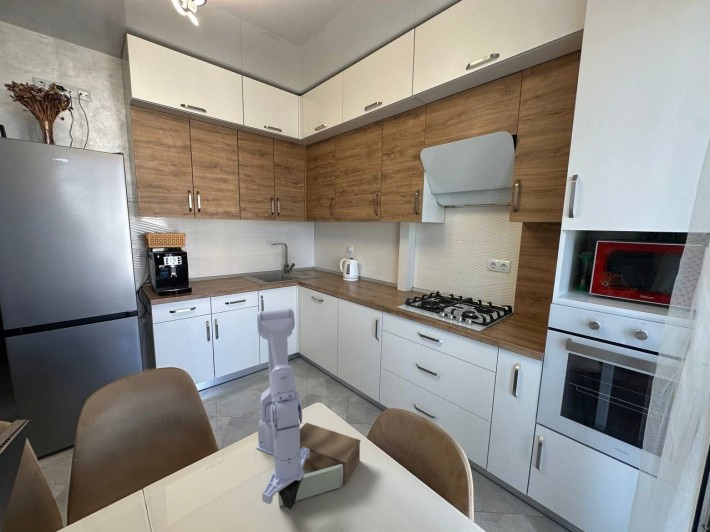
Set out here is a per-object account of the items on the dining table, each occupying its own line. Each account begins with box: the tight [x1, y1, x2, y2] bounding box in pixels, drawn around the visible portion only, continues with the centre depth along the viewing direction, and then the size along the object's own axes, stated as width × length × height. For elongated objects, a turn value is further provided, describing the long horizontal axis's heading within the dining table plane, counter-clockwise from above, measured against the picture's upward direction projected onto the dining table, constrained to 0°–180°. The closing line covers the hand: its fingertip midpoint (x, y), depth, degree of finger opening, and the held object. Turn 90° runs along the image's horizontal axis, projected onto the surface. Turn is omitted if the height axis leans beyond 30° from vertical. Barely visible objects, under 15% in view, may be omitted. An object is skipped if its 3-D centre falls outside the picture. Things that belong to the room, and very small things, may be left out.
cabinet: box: [300, 422, 361, 486], centre depth 83 cm, size 18×9×6 cm, turn 65°
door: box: [277, 464, 344, 507], centre depth 72 cm, size 16×2×6 cm, turn 110°
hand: (289, 505), depth 68 cm, fingers closed
